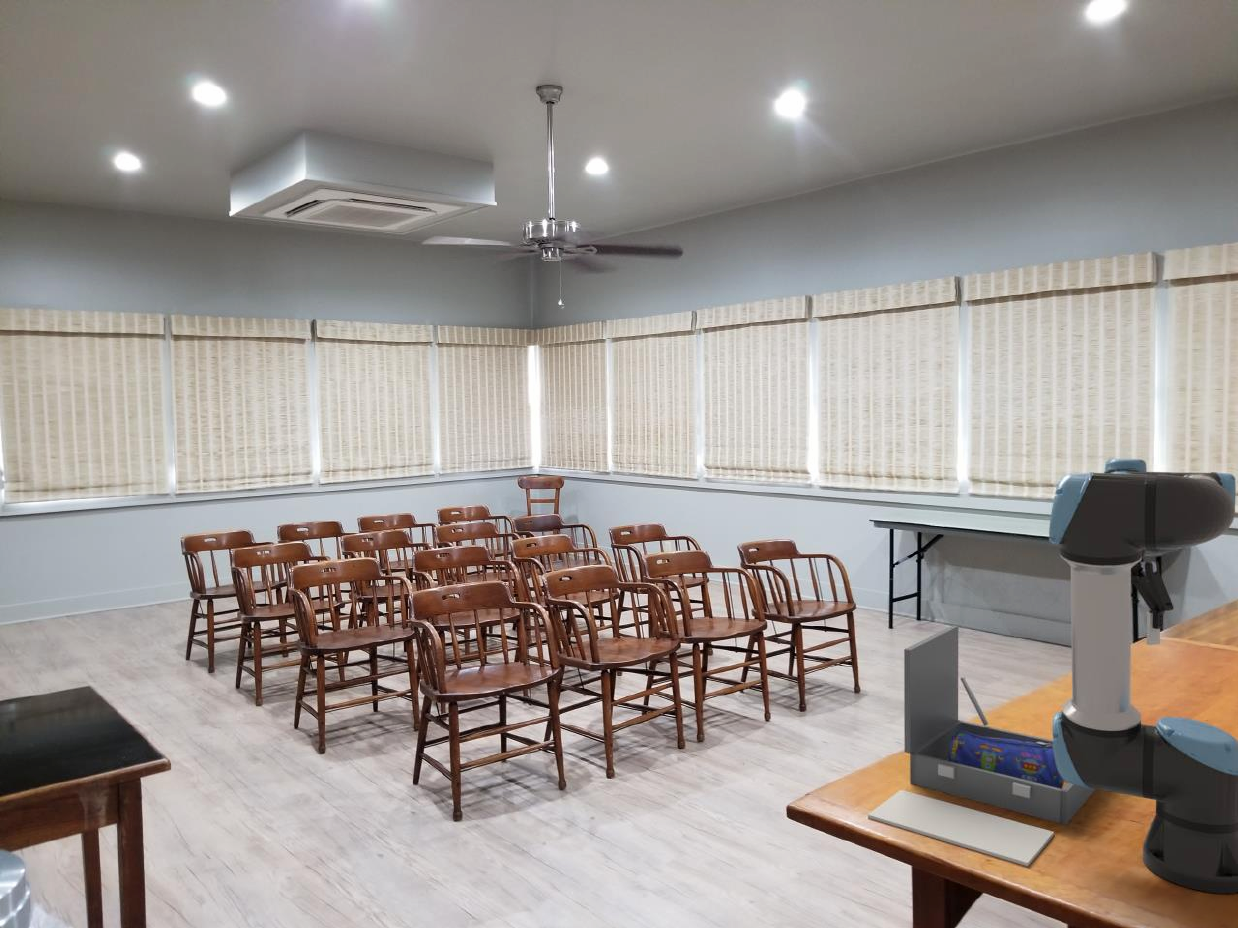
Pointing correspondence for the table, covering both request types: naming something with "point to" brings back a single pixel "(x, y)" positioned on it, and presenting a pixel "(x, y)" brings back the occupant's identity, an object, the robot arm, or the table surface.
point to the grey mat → (963, 827)
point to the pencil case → (1007, 757)
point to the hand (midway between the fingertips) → (1123, 636)
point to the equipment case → (937, 722)
